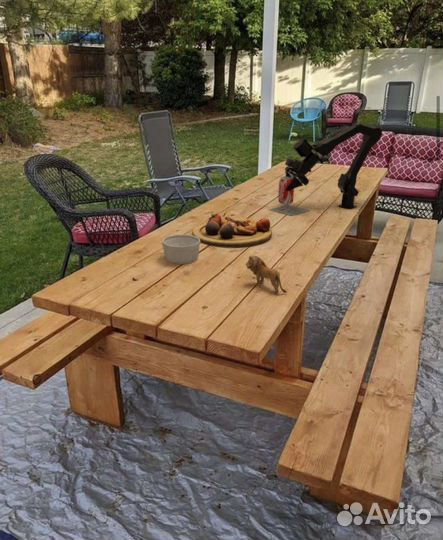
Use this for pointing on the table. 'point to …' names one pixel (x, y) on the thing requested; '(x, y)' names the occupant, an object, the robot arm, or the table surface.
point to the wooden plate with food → (233, 231)
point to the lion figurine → (264, 272)
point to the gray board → (289, 210)
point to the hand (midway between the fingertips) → (283, 188)
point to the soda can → (284, 195)
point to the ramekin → (181, 248)
